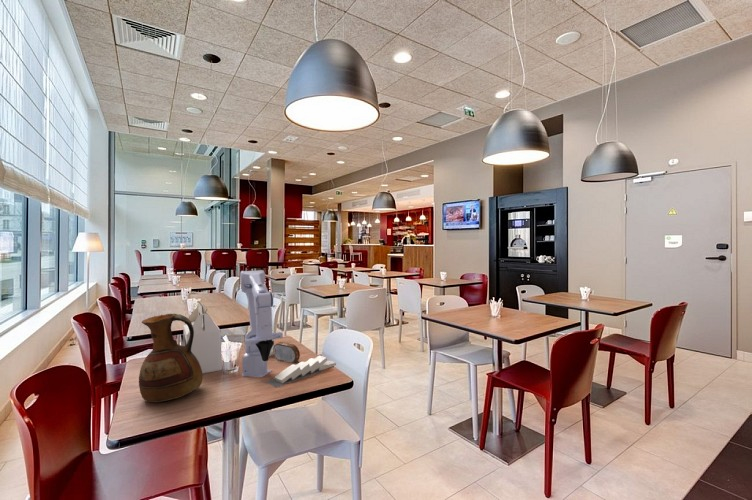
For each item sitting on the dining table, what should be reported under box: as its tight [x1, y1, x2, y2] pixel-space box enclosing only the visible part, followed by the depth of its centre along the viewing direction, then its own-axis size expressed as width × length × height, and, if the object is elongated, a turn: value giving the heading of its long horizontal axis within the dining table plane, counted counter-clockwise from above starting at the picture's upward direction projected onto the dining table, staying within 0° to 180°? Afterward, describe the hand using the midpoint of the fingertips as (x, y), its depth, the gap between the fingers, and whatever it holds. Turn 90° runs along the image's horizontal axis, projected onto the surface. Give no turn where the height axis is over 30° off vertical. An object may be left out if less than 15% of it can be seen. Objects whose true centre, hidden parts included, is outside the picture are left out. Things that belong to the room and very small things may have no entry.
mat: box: [265, 369, 325, 388], centre depth 147 cm, size 23×8×1 cm, turn 137°
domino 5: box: [317, 359, 337, 370], centre depth 157 cm, size 2×5×9 cm
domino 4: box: [309, 354, 328, 373], centre depth 154 cm, size 2×5×9 cm
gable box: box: [182, 301, 223, 375], centre depth 163 cm, size 22×13×28 cm, turn 31°
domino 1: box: [274, 363, 301, 383], centre depth 144 cm, size 2×5×9 cm
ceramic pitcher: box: [138, 313, 204, 403], centre depth 131 cm, size 20×20×30 cm
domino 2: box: [289, 361, 310, 380], centre depth 147 cm, size 2×5×9 cm
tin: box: [273, 341, 301, 364], centre depth 167 cm, size 15×3×8 cm, turn 58°
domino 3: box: [300, 357, 319, 376], centre depth 151 cm, size 2×5×9 cm
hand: (265, 360), depth 137 cm, fingers closed
